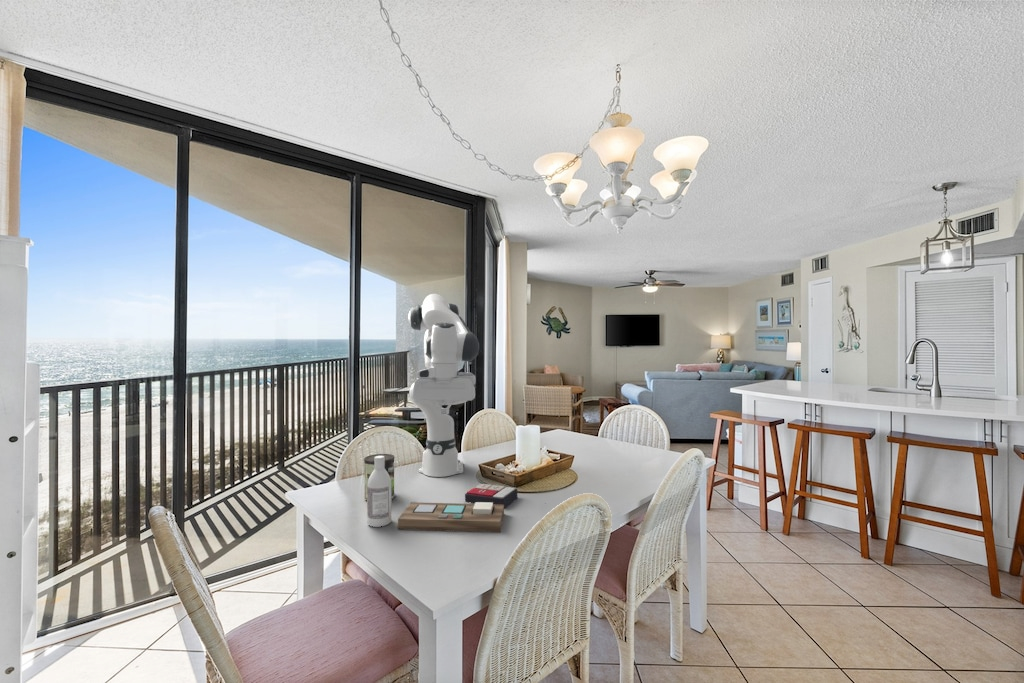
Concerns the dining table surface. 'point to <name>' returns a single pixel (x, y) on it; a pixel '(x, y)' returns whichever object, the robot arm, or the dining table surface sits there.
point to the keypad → (451, 518)
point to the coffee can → (370, 468)
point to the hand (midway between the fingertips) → (444, 413)
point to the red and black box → (492, 494)
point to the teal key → (454, 509)
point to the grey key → (425, 509)
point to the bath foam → (379, 495)
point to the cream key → (483, 508)
